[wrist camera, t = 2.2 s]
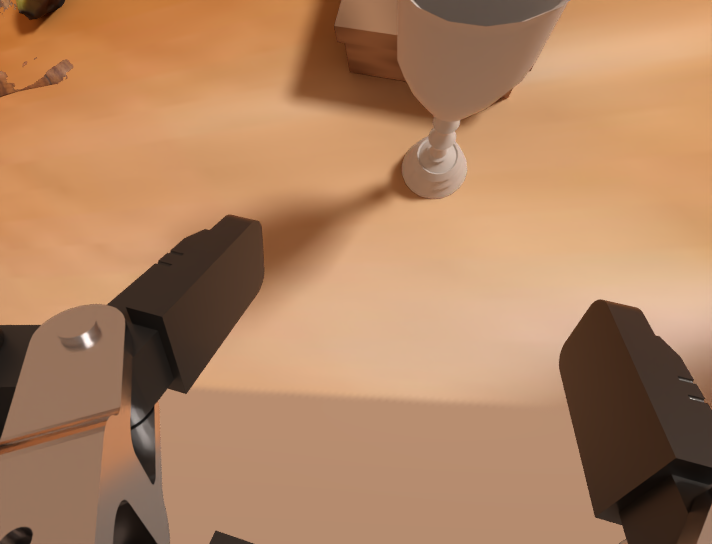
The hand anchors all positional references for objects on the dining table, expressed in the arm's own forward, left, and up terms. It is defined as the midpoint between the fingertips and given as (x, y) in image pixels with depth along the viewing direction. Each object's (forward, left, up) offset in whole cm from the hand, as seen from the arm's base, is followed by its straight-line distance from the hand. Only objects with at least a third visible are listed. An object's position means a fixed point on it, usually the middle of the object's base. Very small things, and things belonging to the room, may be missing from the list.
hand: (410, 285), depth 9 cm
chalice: (0, -12, -19) cm, 22 cm away
